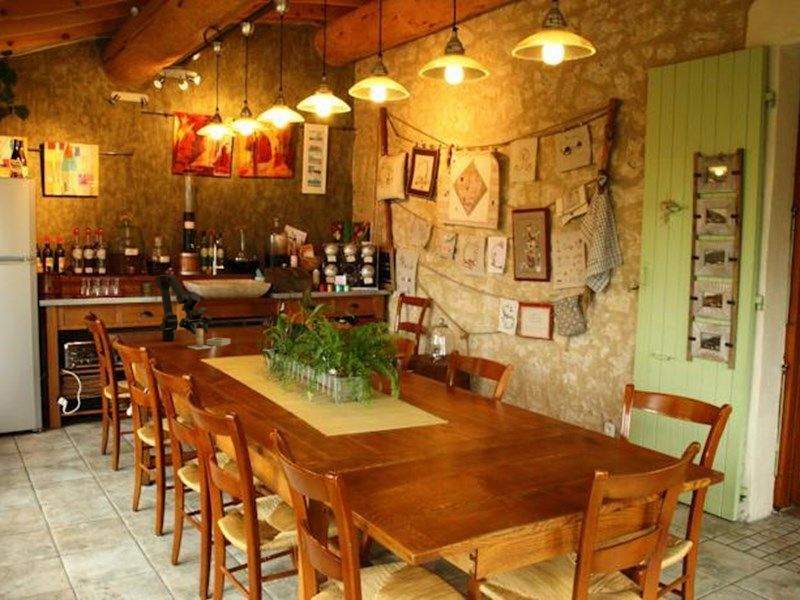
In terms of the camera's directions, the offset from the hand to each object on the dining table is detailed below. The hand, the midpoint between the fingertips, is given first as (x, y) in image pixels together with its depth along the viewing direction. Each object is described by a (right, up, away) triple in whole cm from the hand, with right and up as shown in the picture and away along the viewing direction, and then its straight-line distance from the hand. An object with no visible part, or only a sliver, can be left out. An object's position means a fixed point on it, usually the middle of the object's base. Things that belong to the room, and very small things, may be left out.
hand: (201, 333), depth 441 cm
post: (-1, -8, +2) cm, 8 cm away
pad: (-1, -8, +2) cm, 8 cm away
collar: (+6, -7, +16) cm, 18 cm away
